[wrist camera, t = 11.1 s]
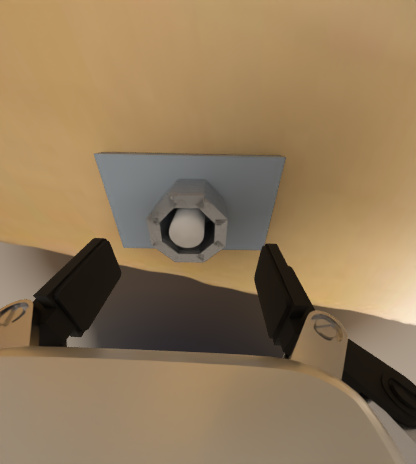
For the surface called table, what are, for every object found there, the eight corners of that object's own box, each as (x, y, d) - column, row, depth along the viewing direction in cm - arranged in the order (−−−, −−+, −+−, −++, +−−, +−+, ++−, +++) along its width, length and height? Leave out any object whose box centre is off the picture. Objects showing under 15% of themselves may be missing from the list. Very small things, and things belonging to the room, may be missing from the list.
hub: (224, 179, 16) (229, 196, 12) (220, 234, 20) (223, 262, 16) (158, 178, 16) (141, 194, 12) (166, 233, 20) (155, 261, 16)
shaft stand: (279, 155, 17) (314, 167, 11) (260, 243, 22) (276, 280, 17) (102, 152, 17) (49, 162, 11) (128, 241, 22) (102, 277, 17)
